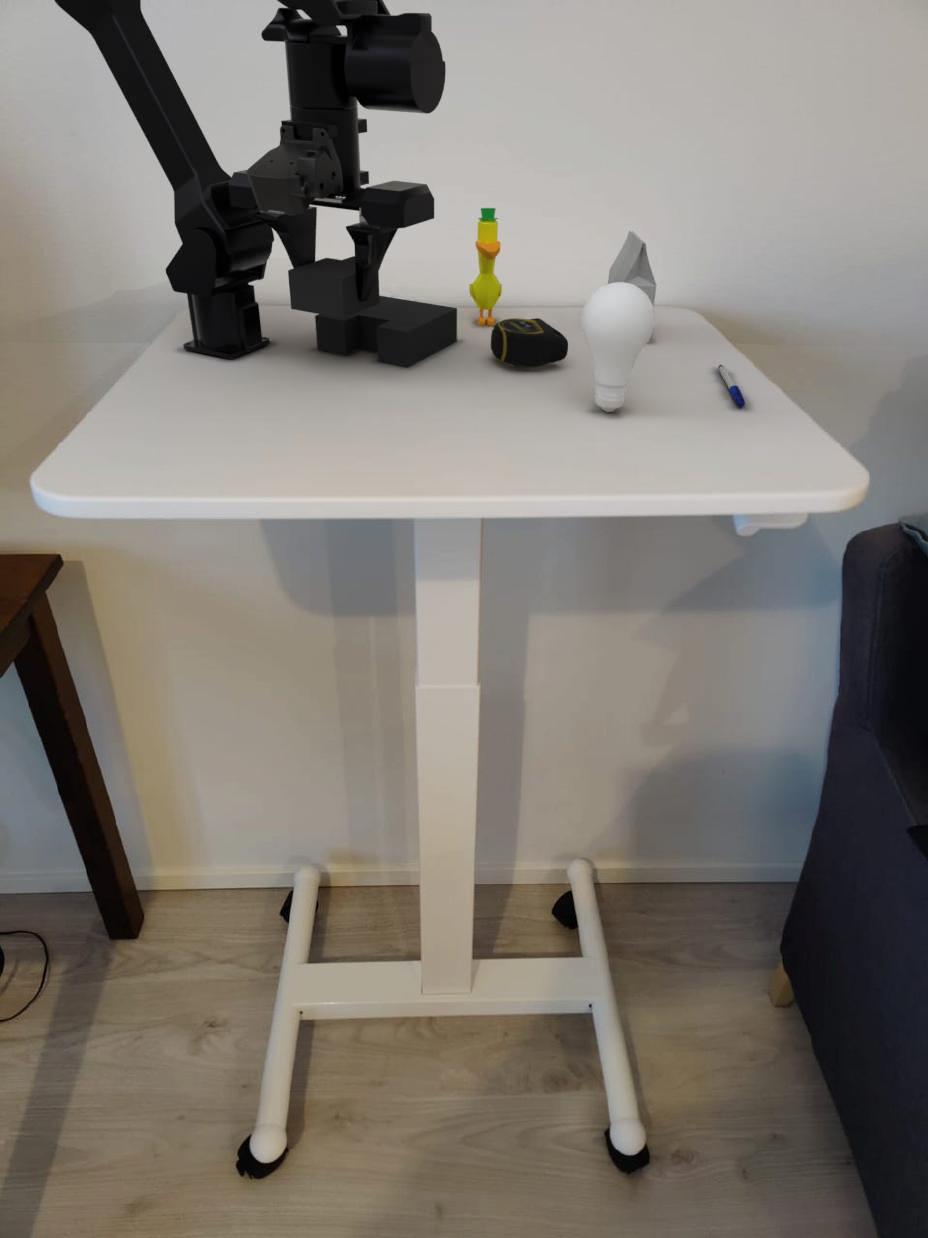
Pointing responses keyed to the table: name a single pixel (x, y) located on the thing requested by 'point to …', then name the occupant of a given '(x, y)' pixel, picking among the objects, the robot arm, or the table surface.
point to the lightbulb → (616, 337)
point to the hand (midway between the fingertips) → (334, 295)
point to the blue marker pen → (732, 386)
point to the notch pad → (390, 331)
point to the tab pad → (329, 288)
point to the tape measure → (527, 342)
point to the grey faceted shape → (634, 267)
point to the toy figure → (486, 266)
